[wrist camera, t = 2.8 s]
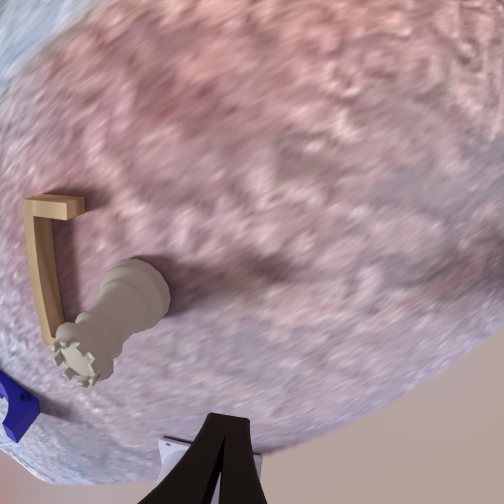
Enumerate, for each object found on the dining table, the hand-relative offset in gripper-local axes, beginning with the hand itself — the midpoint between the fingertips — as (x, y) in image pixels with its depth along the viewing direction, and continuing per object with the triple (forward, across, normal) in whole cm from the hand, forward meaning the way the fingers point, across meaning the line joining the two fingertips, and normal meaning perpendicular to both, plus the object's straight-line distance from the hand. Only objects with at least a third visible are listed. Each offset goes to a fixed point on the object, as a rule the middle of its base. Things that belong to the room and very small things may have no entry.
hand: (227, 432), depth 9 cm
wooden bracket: (+9, +13, 0) cm, 16 cm away
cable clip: (+10, +28, +18) cm, 35 cm away
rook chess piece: (+10, +7, 0) cm, 12 cm away
